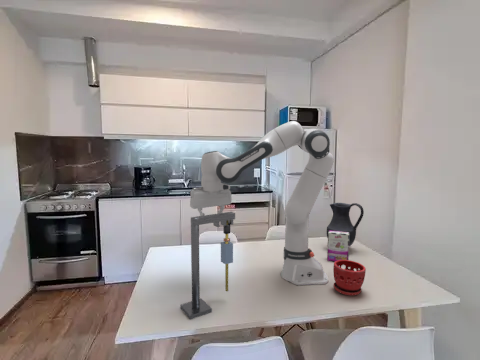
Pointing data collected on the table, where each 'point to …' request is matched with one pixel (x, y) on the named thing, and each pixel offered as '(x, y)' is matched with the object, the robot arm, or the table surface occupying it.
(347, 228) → the pitcher
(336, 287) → the plant pot
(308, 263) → the robot arm
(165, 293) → the table surface
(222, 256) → the sleeve
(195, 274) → the grey gallows stand
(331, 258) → the candy bar box
